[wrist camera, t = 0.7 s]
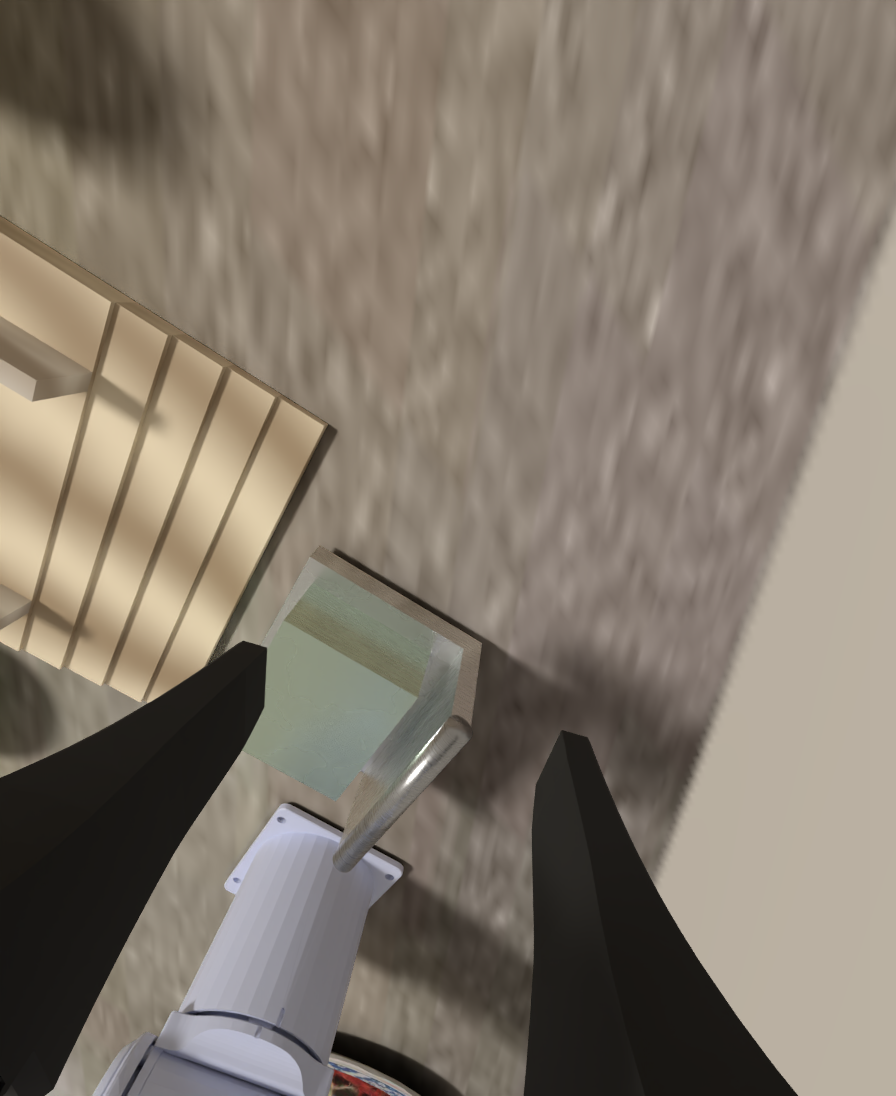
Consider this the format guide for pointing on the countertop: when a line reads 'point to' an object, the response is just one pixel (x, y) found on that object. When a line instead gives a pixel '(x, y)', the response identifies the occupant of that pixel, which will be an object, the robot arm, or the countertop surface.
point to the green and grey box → (363, 696)
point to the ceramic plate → (362, 1080)
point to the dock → (127, 477)
